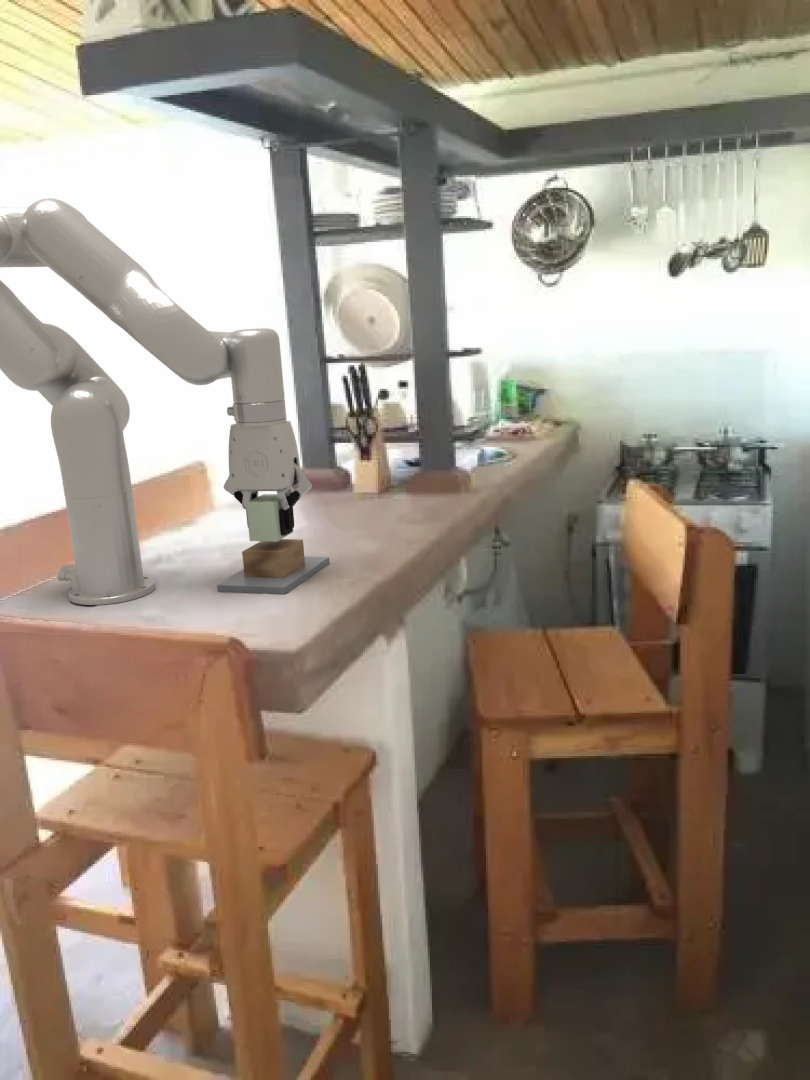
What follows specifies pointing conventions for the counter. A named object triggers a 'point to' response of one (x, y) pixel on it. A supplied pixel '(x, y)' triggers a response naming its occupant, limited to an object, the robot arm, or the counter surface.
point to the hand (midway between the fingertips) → (271, 532)
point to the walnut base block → (273, 558)
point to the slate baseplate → (273, 579)
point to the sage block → (264, 518)
